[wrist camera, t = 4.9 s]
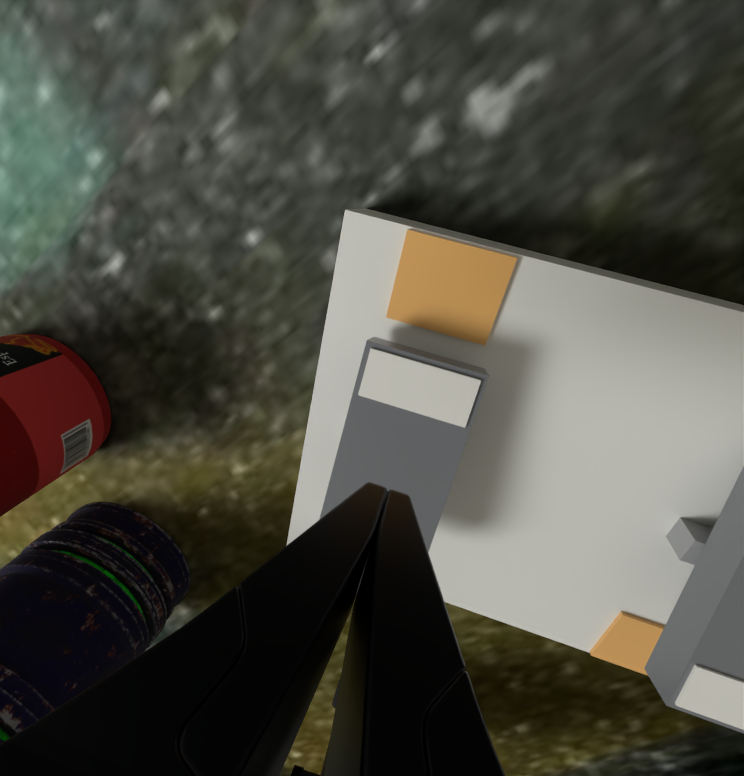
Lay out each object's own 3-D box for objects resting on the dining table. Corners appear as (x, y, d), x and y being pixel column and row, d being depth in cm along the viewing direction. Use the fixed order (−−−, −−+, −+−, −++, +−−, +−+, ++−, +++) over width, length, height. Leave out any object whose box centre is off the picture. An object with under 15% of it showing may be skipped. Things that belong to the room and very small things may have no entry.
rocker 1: (411, 583, 16) (408, 612, 15) (316, 549, 17) (304, 575, 15) (484, 368, 14) (489, 376, 13) (374, 336, 15) (366, 340, 13)
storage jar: (130, 483, 26) (-229, 778, 13) (218, 593, 29) (-2, 934, 15) (42, 521, 30) (-307, 780, 16) (127, 615, 32) (-114, 904, 19)
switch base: (667, 628, 21) (708, 719, 18) (307, 506, 23) (276, 564, 20) (914, 348, 14) (1071, 400, 10) (365, 208, 16) (334, 210, 13)
